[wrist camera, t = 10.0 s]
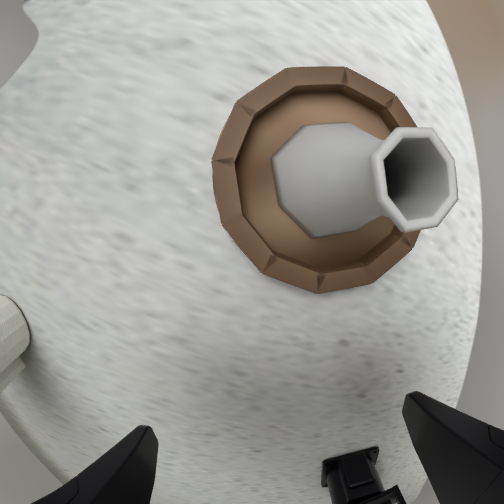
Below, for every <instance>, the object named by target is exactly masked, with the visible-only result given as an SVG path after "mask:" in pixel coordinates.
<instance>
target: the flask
mask: <svg viewBox="0 0 504 504" xmlns="http://www.w3.org/2000/svg"><path fill="white" fill-rule="evenodd" d="M270 161H271V167H272V172H273V178H274V184H275V190H276V196H277V203H278V206H279V207H280V208H281V209H282V210H283V211H284V212H285V213H286V214H287V215H288V216H289V217H290V218H291V219H292V220H293V221H294V222H295V223H296V224H297V225H298V226H299V227H300V228H301V229H302V230H303V231H304V232H305V233H306V234H307V235H308V236H309V237H310V238H317V237H323V236H329V235H335V234H341V233H347V232H353V231H356V230H358V229H359V228H361V227H362V226H364V225H365V224H367V223H368V222H370V221H372V220H373V219H375V218H377V217H379V216H381V215H382V216H386V217H390V219H391V220H392V221H393V223H394V224H395V225H396V226H397V228H398V229H399V230H400V231H401V232H405V233H406V232H411V231H417V230H422V229H428V228H433V227H438V225H439V224H440V223H441V221H442V220H443V219H444V218H445V216H446V215H447V214H448V212H449V211H450V210H451V208H452V207H453V206H454V204H455V203H456V202H457V200H458V188H457V177H456V168H455V160H454V158H453V157H452V155H451V154H450V152H449V151H448V149H447V148H446V146H445V145H444V143H443V142H442V140H441V139H440V137H439V136H438V135H437V133H436V132H435V131H434V129H433V128H424V127H399V128H395V129H394V130H393V131H392V132H391V134H390V135H389V136H388V137H387V138H386V139H385V140H380V139H378V138H376V137H374V136H372V135H370V134H369V133H367V132H365V131H363V130H361V129H359V128H358V127H356V126H355V125H353V124H351V123H349V122H332V123H319V124H309V125H303V126H301V127H300V128H299V129H298V130H297V131H296V132H295V133H294V134H293V135H292V136H291V137H290V138H289V139H288V140H287V141H286V142H285V143H284V144H283V145H282V146H281V147H280V148H279V149H278V150H277V151H276V152H275V153H274V154H273V155H272V156H271V157H270Z"/></svg>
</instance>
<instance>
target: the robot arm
mask: <svg viewBox="0 0 504 504" xmlns="http://www.w3.org/2000/svg"><path fill="white" fill-rule="evenodd" d="M402 414H403V417H404V420H405V423H406V426H407V429H408V431H409V434H410V437H411V440H412V443H413V446H414V448H415V450H416V453H417V455H418V457H419V459H420V461H421V463H422V465H423V467H424V469H425V472H426V474H427V476H428V478H429V480H430V482H431V485H432V487H433V489H434V491H435V493H436V496H437V498H438V500H439V503H440V504H504V430H501V429H499V428H496V427H494V426H492V425H488V424H487V423H484V422H482V421H480V420H477V419H475V418H473V417H471V416H469V415H467V414H465V413H462V412H460V411H458V410H456V409H454V408H452V407H450V406H447V405H445V404H443V403H441V402H439V401H437V400H435V399H433V398H431V397H429V396H427V395H425V394H423V393H421V392H418V391H414V392H411V393H408V394H407V395H406V397H405V401H404V405H403V409H402ZM157 454H158V440H157V438H156V436H155V434H154V432H153V430H152V428H151V427H150V426H146V425H139V426H137V427H136V428H135V429H134V430H133V431H132V432H130V433H129V434H128V435H127V436H126V437H124V438H123V439H122V440H121V441H120V442H118V443H117V444H116V445H115V446H113V447H112V448H111V449H110V450H109V451H107V452H106V453H105V454H104V455H102V456H101V457H100V458H99V459H97V460H96V461H95V462H94V463H92V464H91V465H90V466H88V467H87V468H86V469H85V470H83V471H82V472H81V473H79V474H78V475H77V476H75V477H74V478H73V479H71V480H70V481H69V482H67V483H66V484H64V485H63V486H62V487H60V488H58V489H57V490H55V491H54V492H52V493H50V494H48V495H47V496H45V497H43V498H41V499H39V500H37V501H35V502H33V503H32V504H150V499H151V495H152V490H153V486H154V481H155V474H156V464H157ZM378 454H379V448H378V447H374V448H370V449H367V450H364V451H360V452H356V453H353V454H349V455H345V456H341V457H337V458H333V459H328V460H325V461H323V462H322V479H321V485H322V487H328V488H329V492H330V496H331V500H332V504H394V503H396V502H397V504H406V502H405V500H404V498H403V496H402V494H401V492H400V490H399V487H398V485H395V486H393V487H392V488H390V489H388V490H386V491H385V490H384V487H383V485H382V482H381V480H380V477H379V475H378V472H377V470H376V467H375V464H376V461H377V457H378Z"/></svg>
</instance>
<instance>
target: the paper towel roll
mask: <svg viewBox="0 0 504 504" xmlns="http://www.w3.org/2000/svg"><path fill="white" fill-rule="evenodd" d="M29 342H30V340H29V330H28V326H27V323H26V321H25V319H24V317H23V315H22V313H21V311H20V310H19V308H18V307H17V306H16V305H15V303H14V302H13V301H12V300H10V299H9V298H8V297H6V296H2V295H0V393H1V392H2V391H3V390H4V389H5V388H6V387H7V386H8V385H9V384H10V383H11V382H12V381H13V380H14V379H15V377H16V376H17V375H18V374H19V373H20V372H21V371H22V370H23V369H24V368H25V367H26V366H25V364H24V363H23V361H22V360H21V359H20V358H19V355H20V354H21V353H23V352H24V351H25V350H26V348H27V346H28V344H29Z"/></svg>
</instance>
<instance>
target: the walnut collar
mask: <svg viewBox="0 0 504 504" xmlns="http://www.w3.org/2000/svg"><path fill="white" fill-rule="evenodd" d="M332 122H349V123H351V124H353V125H355V126H356V127H358V128H359V129H361V130H363V131H365V132H367V133H369V134H370V135H372V136H374V137H376V138H378V139H380V140H385V139H386V138H387V137H388V136H389V135H390V134H391V132H392V131H393V130H394V129H395V128H399V127H417V126H416V124H415V123H414V121H413V119H412V118H411V116H410V115H409V113H408V112H407V110H406V109H405V107H404V106H403V104H402V103H401V102H400V100H399V99H398V97H397V96H395V94H394V93H392V92H390V91H389V90H387V89H385V88H384V87H382V86H380V85H378V84H377V83H375V82H373V81H371V80H370V79H368V78H366V77H364V76H362V75H360V74H358V73H357V72H355V71H353V70H351V69H349V68H347V67H346V68H345V67H292V68H287V69H286V68H285V69H284V70H282V71H281V72H279V73H277V74H276V75H274V76H273V77H271V78H270V79H268V80H267V81H265V82H264V83H262V84H261V85H259V86H258V87H256V88H255V89H253V90H252V91H250V92H249V93H247V94H246V95H244V96H243V97H242V98H240V99H239V100H237V103H235V105H234V107H233V109H232V112H231V114H230V116H229V118H228V120H227V122H226V124H225V126H224V128H223V130H222V132H221V134H220V137H219V140H218V143H217V146H216V150H215V152H214V154H213V157H212V160H213V161H211V162H212V168H213V189H214V195H215V200H216V204H217V208H218V211H219V213H220V219H221V224H222V226H223V227H224V228H225V230H226V231H227V232H228V233H229V234H230V236H231V237H232V239H233V240H234V241H235V243H236V244H237V246H238V247H239V248H240V249H241V250H242V251H243V252H244V253H245V254H246V255H247V257H248V258H249V259H250V260H251V261H252V262H253V264H254V265H255V266H256V267H257V268H258V270H259V271H260V272H261V273H262V274H264V275H267V276H270V277H272V278H275V279H278V280H281V281H283V282H286V283H289V284H291V285H294V286H297V287H300V288H302V289H305V290H308V291H311V292H313V293H316V294H317V293H318V294H320V293H325V292H331V291H337V290H342V289H347V288H353V287H358V286H363V285H368V284H371V283H373V282H375V281H376V280H377V279H378V278H380V277H381V276H382V275H383V274H384V273H386V272H387V271H388V270H389V269H390V268H391V267H393V266H394V265H395V264H396V263H397V262H398V261H400V260H401V259H402V258H403V257H404V256H405V255H406V254H408V253H409V252H410V251H411V250H412V248H413V247H414V245H415V243H416V240H417V238H418V235H419V233H420V230H417V231H411V232H406V233H405V232H401V231H400V230H399V229H398V228H397V226H396V225H395V224H394V223H393V221H392V220H391V219H390V217H386V216H382V215H381V216H379V217H377V218H375V219H373V220H372V221H370V222H368V223H367V224H365V225H364V226H362V227H361V228H359V229H358V230H356V231H353V232H347V233H341V234H335V235H329V236H323V237H317V238H310V237H309V236H308V235H307V234H306V233H305V232H304V231H303V230H302V229H301V228H300V227H299V226H298V225H297V224H296V223H295V222H294V221H293V220H292V219H291V218H290V217H289V216H288V215H287V214H286V213H285V212H284V211H283V210H282V209H281V208H280V207H279V206H278V203H277V196H276V190H275V184H274V178H273V172H272V167H271V161H270V157H271V156H272V155H273V154H274V153H275V152H276V151H277V150H278V149H279V148H280V147H281V146H282V145H283V144H284V143H285V142H286V141H287V140H288V139H289V138H290V137H291V136H292V135H293V134H294V133H295V132H296V131H297V130H298V129H299V128H300V127H301V126H303V125H309V124H319V123H332Z"/></svg>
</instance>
